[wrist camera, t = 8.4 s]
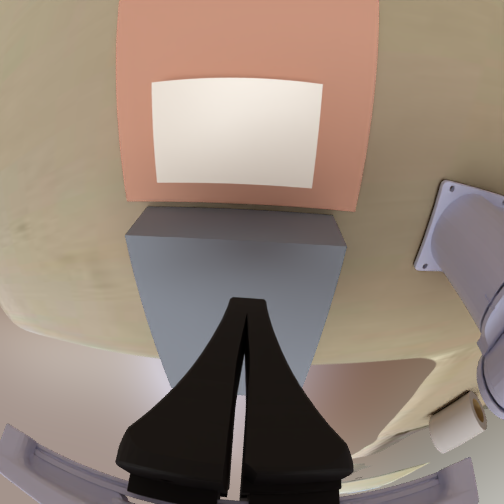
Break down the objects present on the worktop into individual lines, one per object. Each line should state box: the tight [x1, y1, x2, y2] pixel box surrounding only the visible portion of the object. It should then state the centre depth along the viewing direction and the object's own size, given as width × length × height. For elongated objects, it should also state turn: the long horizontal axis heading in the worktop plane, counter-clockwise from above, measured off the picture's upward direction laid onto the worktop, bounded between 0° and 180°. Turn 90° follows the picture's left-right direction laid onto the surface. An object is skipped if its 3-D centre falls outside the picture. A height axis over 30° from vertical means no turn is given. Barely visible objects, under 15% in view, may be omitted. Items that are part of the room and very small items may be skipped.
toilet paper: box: [429, 391, 487, 453], centre depth 36 cm, size 10×10×10 cm
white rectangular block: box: [152, 78, 323, 188], centre depth 15 cm, size 9×6×2 cm, turn 88°
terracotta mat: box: [116, 0, 379, 212], centre depth 14 cm, size 16×15×1 cm
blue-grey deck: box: [125, 207, 347, 395], centre depth 22 cm, size 13×18×4 cm
